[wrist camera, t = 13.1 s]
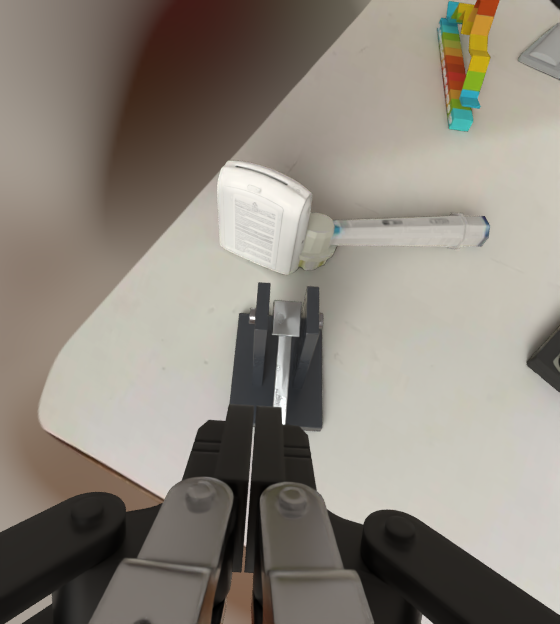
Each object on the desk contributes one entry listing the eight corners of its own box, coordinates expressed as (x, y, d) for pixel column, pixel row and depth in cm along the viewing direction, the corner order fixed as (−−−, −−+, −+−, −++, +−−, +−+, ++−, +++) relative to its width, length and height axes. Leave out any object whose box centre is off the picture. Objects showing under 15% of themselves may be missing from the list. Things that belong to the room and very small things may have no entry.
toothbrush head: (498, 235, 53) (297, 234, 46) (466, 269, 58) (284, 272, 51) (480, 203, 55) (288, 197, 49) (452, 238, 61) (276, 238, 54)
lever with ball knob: (293, 456, 38) (296, 468, 34) (256, 453, 38) (256, 465, 34) (304, 304, 38) (308, 302, 35) (267, 301, 38) (268, 299, 35)
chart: (435, 28, 84) (470, -70, 72) (452, 30, 84) (490, -68, 72) (447, 129, 69) (494, 26, 56) (467, 131, 69) (519, 29, 56)
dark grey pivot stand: (320, 431, 43) (347, 382, 32) (227, 425, 43) (222, 373, 32) (320, 324, 49) (342, 252, 38) (239, 318, 49) (238, 243, 38)
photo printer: (306, 256, 54) (322, 177, 43) (292, 281, 52) (304, 205, 41) (231, 225, 55) (229, 142, 45) (214, 248, 53) (207, 167, 43)
